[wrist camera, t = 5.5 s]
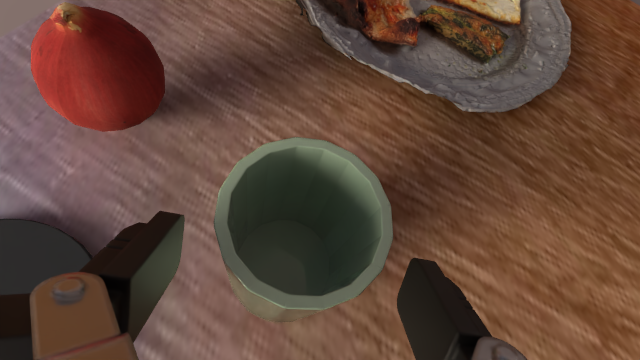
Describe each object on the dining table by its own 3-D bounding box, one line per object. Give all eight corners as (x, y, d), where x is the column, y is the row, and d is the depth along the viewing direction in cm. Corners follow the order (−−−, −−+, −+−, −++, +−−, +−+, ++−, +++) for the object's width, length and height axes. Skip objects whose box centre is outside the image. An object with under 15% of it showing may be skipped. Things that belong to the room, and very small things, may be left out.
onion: (75, 81, 21) (-12, -47, 14) (173, 76, 23) (138, -42, 16) (72, 162, 19) (-33, 58, 12) (180, 150, 21) (144, 52, 14)
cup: (277, 347, 17) (302, 356, 9) (207, 261, 18) (175, 202, 10) (353, 270, 20) (425, 224, 12) (287, 198, 21) (312, 111, 13)
